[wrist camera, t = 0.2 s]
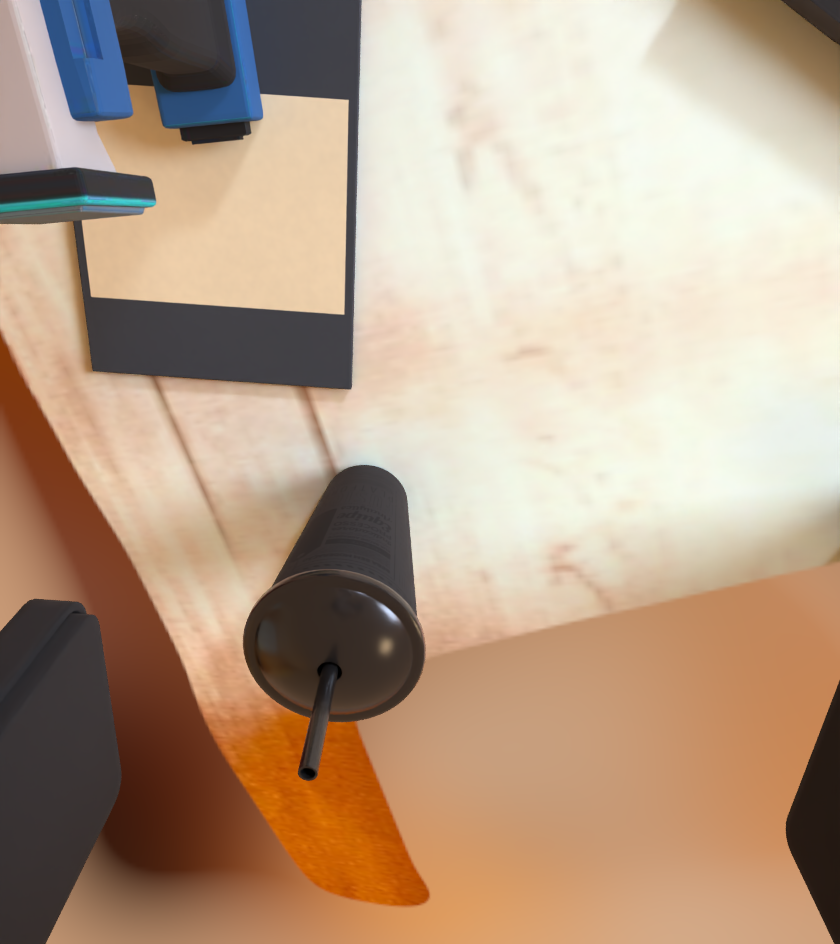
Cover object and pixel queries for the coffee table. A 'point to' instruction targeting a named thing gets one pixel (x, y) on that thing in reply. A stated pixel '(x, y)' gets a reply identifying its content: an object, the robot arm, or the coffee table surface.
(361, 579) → the drinking cup
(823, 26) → the vhs tape
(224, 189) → the mat
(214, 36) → the handheld scanner
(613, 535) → the coffee table surface
